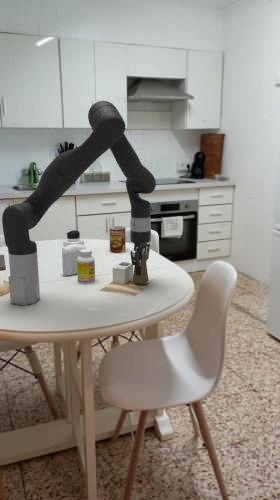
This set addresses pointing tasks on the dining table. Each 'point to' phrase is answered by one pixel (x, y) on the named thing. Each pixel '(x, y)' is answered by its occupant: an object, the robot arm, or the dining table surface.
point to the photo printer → (71, 258)
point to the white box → (122, 273)
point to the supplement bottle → (86, 267)
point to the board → (125, 288)
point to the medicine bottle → (73, 238)
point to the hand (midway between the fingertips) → (140, 273)
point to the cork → (142, 271)
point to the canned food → (117, 239)
